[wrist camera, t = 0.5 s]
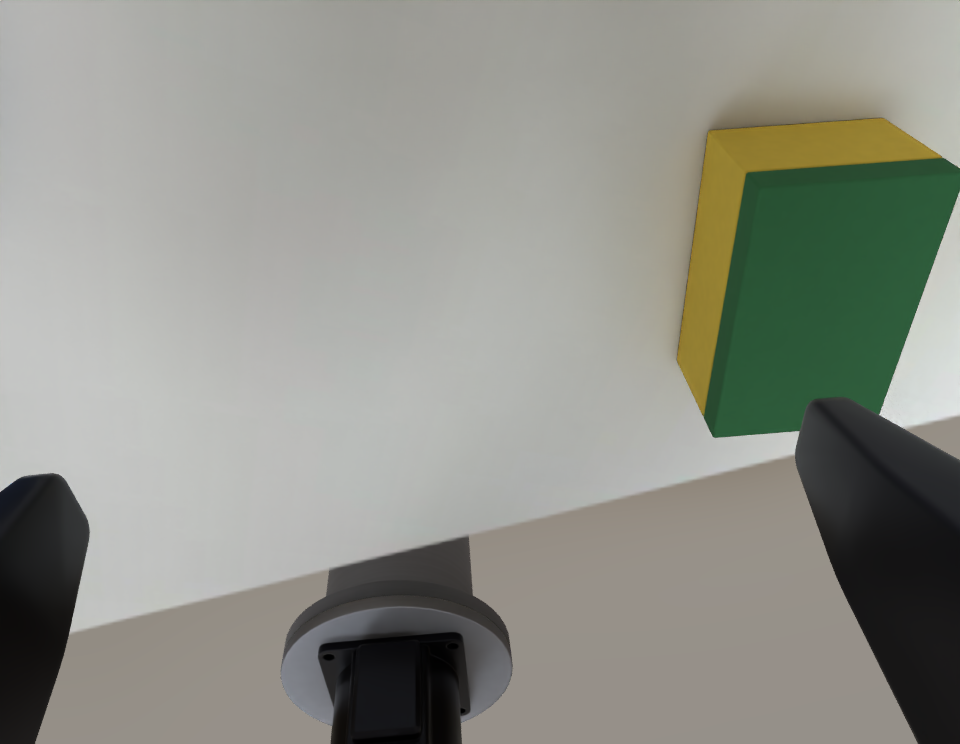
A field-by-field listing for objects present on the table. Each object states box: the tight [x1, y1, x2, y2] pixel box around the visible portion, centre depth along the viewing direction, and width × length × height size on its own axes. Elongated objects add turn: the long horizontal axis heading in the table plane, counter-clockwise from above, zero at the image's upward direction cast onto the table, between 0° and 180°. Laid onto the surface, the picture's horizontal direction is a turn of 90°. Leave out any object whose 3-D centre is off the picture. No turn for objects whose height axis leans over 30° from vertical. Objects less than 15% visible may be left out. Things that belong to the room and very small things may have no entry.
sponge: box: [677, 118, 960, 438], centre depth 22 cm, size 8×5×4 cm, turn 3°
